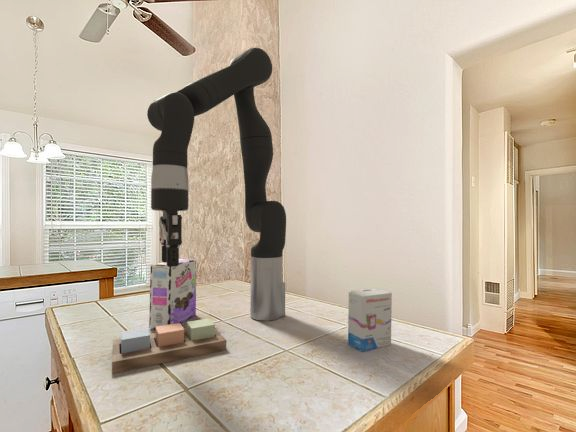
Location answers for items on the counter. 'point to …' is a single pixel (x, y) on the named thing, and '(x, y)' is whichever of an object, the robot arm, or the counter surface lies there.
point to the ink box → (369, 319)
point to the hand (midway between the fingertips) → (169, 264)
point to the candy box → (172, 293)
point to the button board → (164, 352)
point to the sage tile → (200, 329)
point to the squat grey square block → (135, 340)
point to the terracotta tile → (169, 334)
